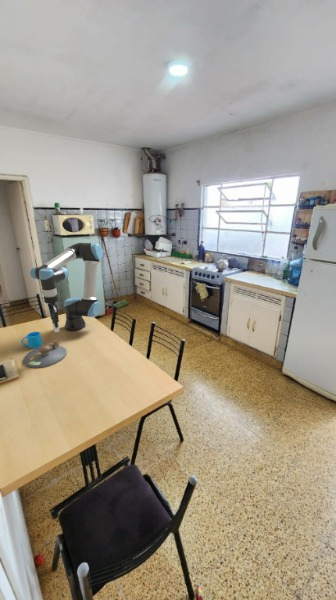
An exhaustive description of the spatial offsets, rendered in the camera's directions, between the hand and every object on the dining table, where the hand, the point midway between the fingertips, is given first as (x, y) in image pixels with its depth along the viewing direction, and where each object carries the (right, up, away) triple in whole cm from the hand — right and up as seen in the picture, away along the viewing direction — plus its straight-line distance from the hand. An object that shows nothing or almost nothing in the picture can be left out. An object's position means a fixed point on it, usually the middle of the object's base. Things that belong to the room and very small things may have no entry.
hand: (57, 331), depth 154 cm
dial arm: (-7, -14, 0) cm, 16 cm away
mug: (-22, -12, +14) cm, 29 cm away
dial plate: (-7, -16, +1) cm, 17 cm away
